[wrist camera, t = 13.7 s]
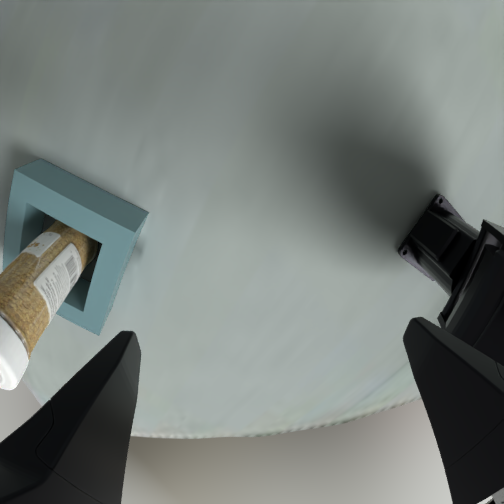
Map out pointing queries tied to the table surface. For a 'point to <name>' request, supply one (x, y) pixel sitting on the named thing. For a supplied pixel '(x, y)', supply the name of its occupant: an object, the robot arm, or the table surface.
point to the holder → (83, 220)
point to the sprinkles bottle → (37, 293)
